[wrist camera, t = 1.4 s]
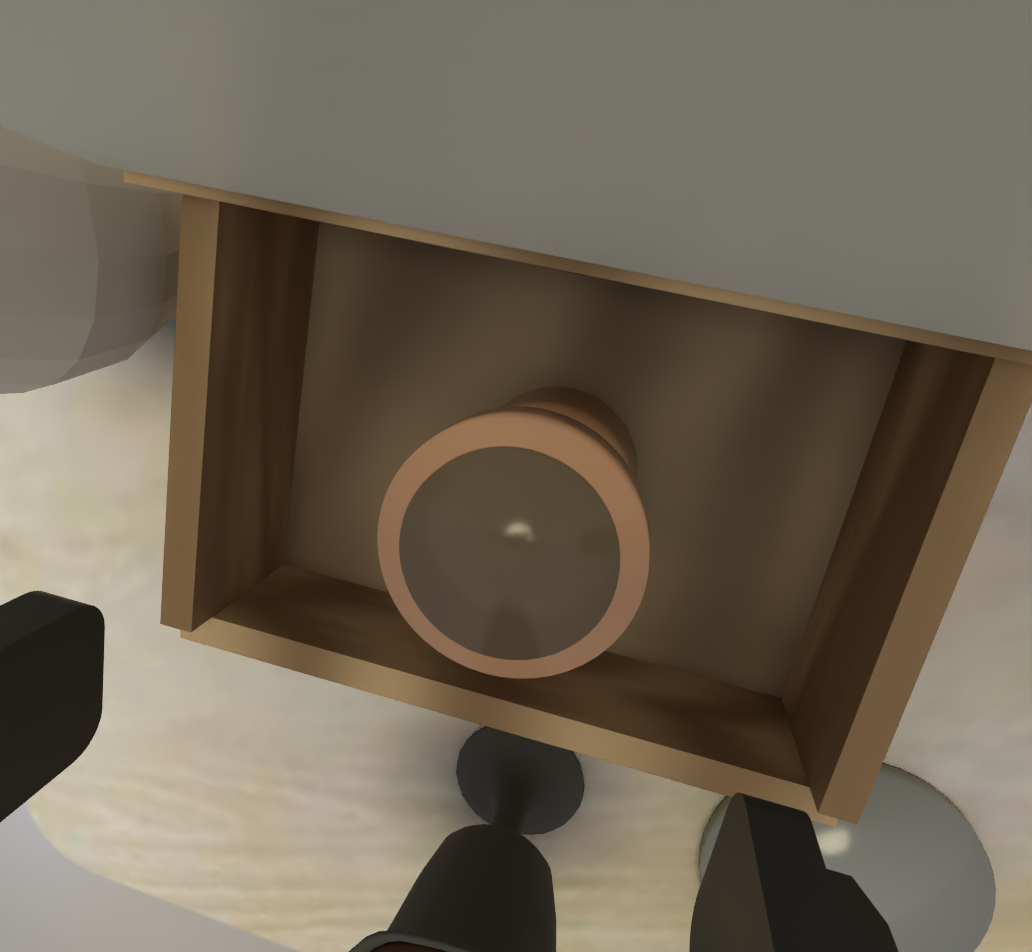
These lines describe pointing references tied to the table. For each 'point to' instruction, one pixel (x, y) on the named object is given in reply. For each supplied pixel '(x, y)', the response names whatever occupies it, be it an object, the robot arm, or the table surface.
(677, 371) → the box
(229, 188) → the frame lid
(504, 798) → the sundae
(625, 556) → the clay pot
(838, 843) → the slate saucer
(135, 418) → the table surface
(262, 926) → the table surface
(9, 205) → the soap bottle
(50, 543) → the table surface
